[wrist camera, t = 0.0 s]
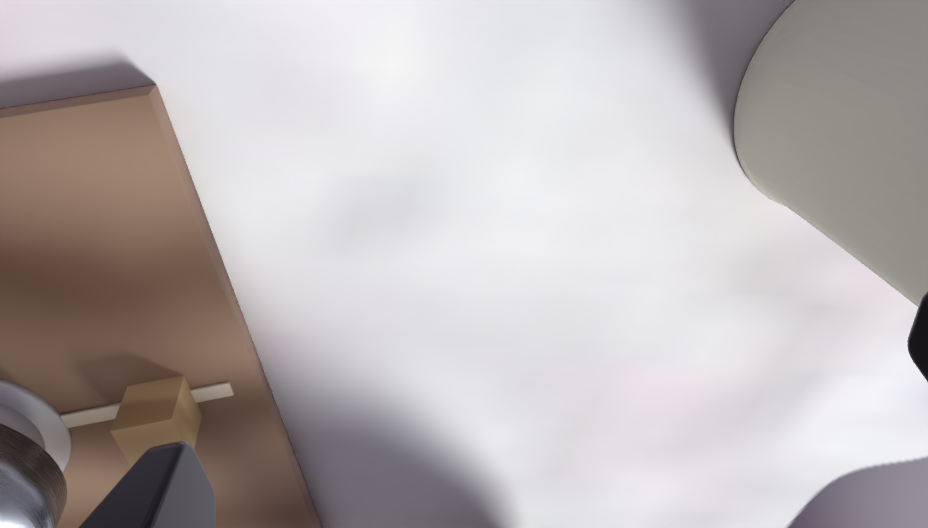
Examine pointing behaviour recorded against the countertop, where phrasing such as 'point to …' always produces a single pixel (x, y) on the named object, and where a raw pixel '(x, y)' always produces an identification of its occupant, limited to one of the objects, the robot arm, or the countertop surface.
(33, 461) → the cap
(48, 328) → the post board
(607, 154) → the countertop surface
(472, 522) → the countertop surface
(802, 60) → the can
